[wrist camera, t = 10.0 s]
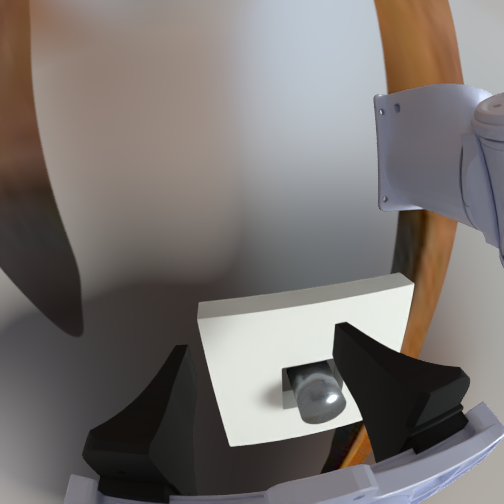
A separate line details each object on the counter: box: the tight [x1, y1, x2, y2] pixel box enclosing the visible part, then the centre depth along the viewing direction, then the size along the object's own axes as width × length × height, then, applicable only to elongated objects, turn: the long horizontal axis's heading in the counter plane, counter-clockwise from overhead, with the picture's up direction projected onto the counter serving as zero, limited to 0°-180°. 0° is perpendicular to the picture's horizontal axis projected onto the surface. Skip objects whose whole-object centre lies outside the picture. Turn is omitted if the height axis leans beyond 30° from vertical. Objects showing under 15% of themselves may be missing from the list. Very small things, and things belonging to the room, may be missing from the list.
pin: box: [287, 360, 346, 424], centre depth 23 cm, size 4×4×6 cm
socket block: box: [197, 273, 414, 446], centre depth 25 cm, size 18×18×2 cm
